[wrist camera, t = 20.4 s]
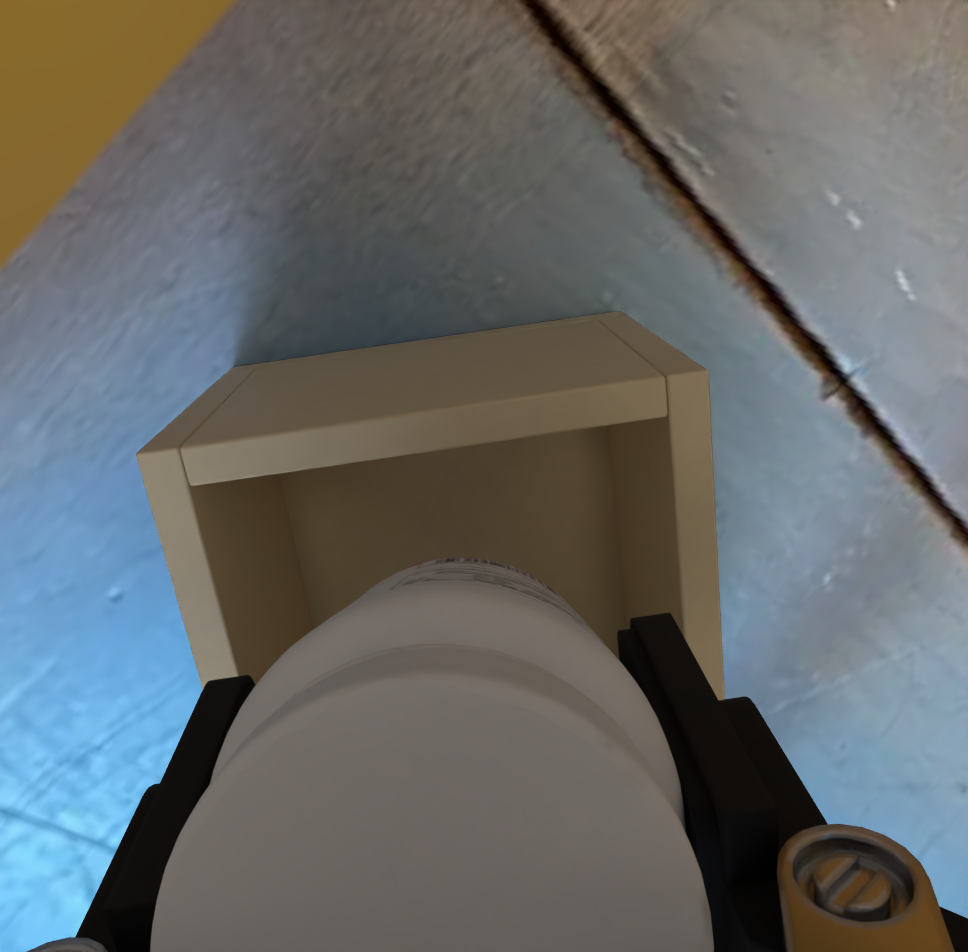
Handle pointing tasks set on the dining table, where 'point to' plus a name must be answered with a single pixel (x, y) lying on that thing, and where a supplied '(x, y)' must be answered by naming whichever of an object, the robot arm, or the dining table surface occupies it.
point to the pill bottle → (440, 789)
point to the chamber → (442, 483)
